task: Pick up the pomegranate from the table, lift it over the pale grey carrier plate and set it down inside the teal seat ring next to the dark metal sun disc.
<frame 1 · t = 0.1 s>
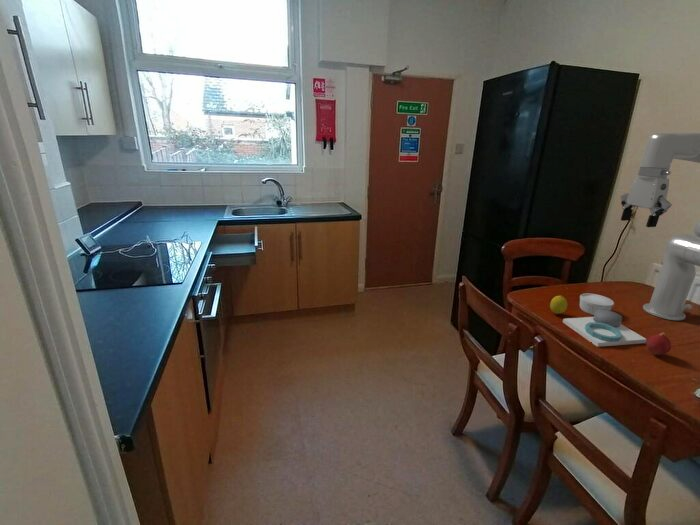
hand: (637, 223, 119), 37 cm above the table, tool pointing down, fingers open, 9 cm apart
pomegranate: (654, 354, 108), on the table
lemon: (556, 314, 133), on the table
carrier plate: (601, 332, 121), on the table
ramekin: (593, 311, 136), on the table
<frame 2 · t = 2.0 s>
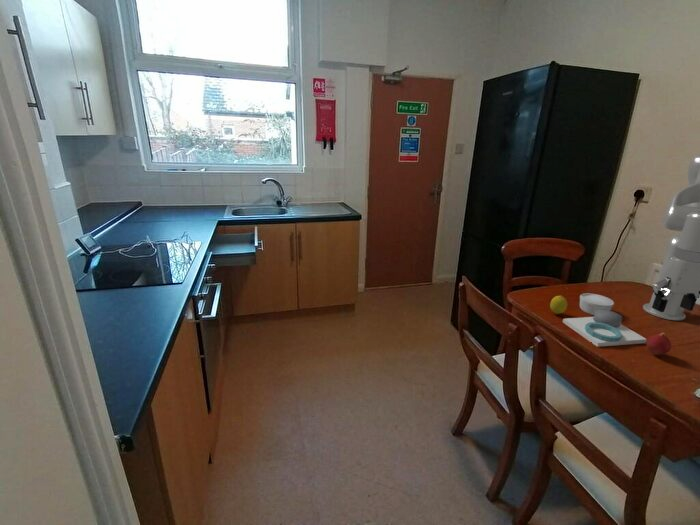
hand: (671, 309, 103), 16 cm above the table, tool pointing down, fingers open, 9 cm apart
nothing on the table moved.
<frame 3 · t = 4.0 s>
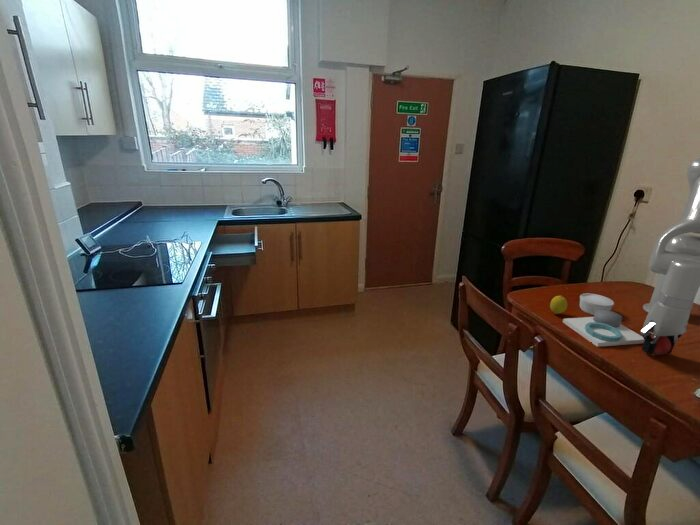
hand: (656, 351, 108), 1 cm above the table, tool pointing down, fingers closed on pomegranate, 5 cm apart
pomegranate: (654, 354, 108), on the table, touching gripper
everything else where it was.
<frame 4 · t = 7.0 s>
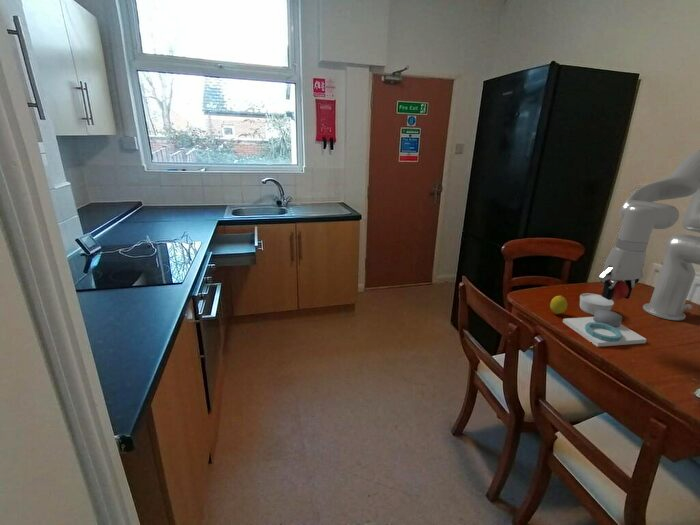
hand: (615, 297, 112), 15 cm above the table, tool pointing down, fingers closed on pomegranate, 5 cm apart
pomegranate: (614, 300, 112), point 14 cm above the table, touching gripper
everything else where it was.
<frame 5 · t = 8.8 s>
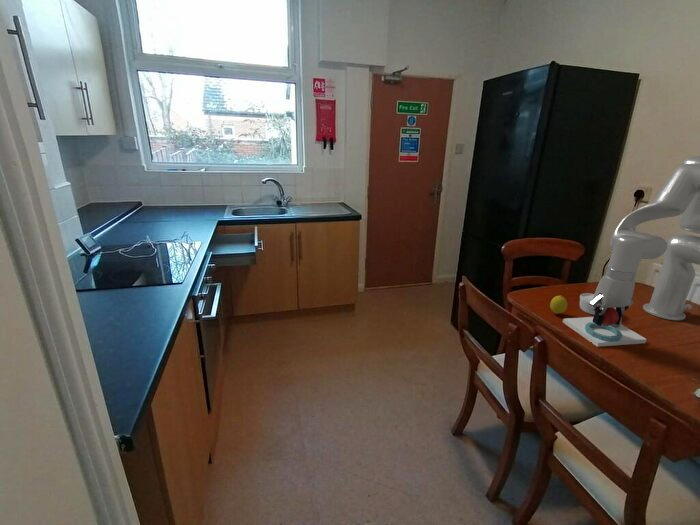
hand: (605, 322, 116), 6 cm above the table, tool pointing down, fingers closed on pomegranate, 5 cm apart
pomegranate: (604, 326, 116), point 4 cm above the table, touching gripper
everything else where it was.
when the fingers open (5 cm above the table, at t = 9.9 s): pomegranate drops 2 cm, resting on carrier plate.
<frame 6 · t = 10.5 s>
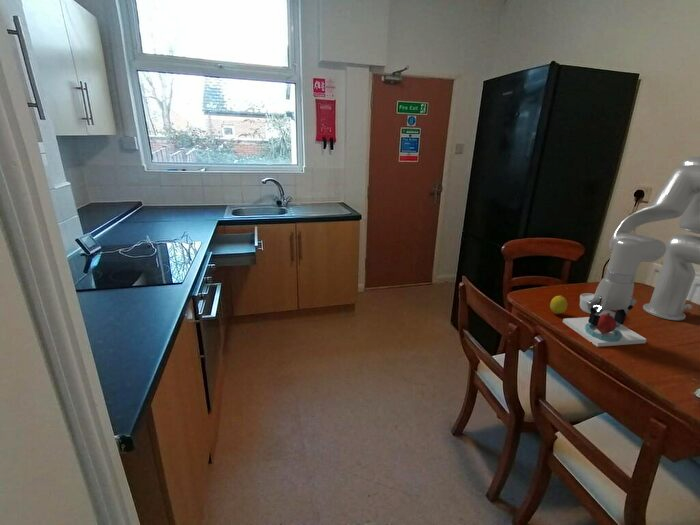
hand: (605, 323, 116), 6 cm above the table, tool pointing down, fingers open, 9 cm apart
pomegranate: (602, 333, 117), point 1 cm above the table, touching carrier plate
everything else where it was.
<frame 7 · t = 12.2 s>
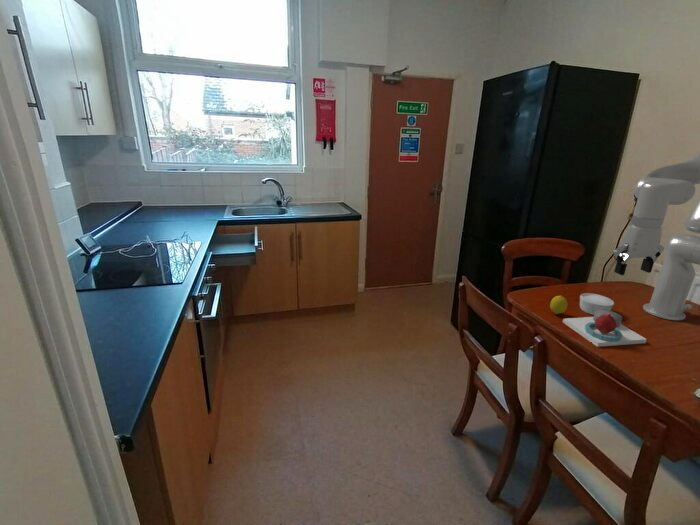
hand: (632, 272, 113), 23 cm above the table, tool pointing down, fingers open, 9 cm apart
nothing on the table moved.
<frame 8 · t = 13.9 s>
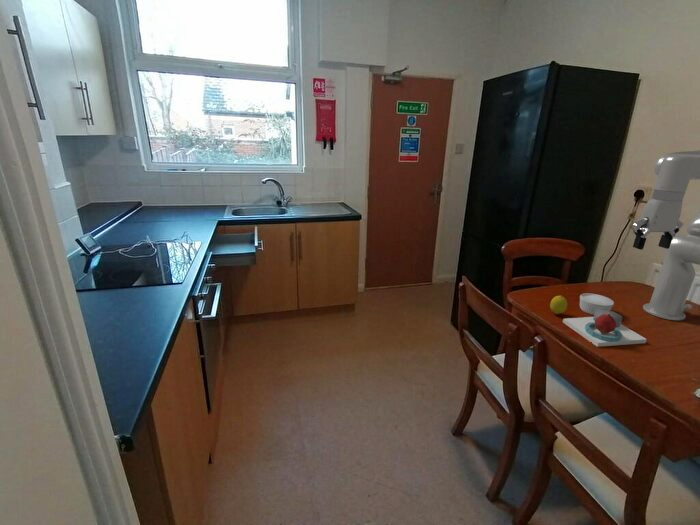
hand: (650, 247, 113), 30 cm above the table, tool pointing down, fingers open, 9 cm apart
nothing on the table moved.
at the end: pomegranate 0.0 cm from the target spot on the carrier plate, point 1.3 cm above the carrier plate's base; the gripper is holding nothing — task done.
